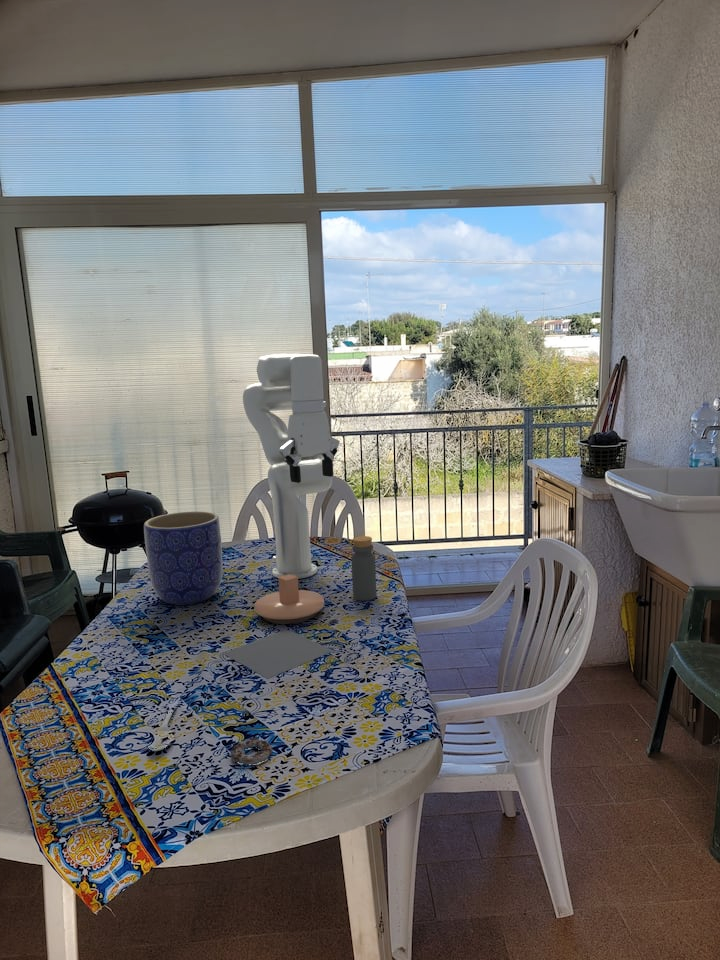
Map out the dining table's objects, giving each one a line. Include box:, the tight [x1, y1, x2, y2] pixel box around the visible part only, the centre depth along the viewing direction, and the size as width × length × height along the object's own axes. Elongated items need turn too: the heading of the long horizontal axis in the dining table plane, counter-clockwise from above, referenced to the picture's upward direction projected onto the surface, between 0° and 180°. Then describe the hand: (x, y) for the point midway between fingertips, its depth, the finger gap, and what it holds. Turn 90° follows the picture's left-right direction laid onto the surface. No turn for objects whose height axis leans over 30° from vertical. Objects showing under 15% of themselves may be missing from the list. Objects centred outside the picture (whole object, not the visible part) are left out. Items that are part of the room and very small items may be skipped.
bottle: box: [350, 535, 378, 602], centre depth 161 cm, size 6×6×15 cm
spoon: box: [149, 712, 173, 752], centre depth 109 cm, size 4×21×2 cm, turn 6°
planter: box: [143, 510, 223, 606], centre depth 166 cm, size 18×18×21 cm
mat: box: [222, 629, 335, 680], centre depth 132 cm, size 16×16×1 cm
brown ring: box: [262, 611, 319, 625], centre depth 152 cm, size 15×15×3 cm
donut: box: [230, 736, 273, 764], centre depth 98 cm, size 8×8×2 cm
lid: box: [254, 574, 325, 619], centre depth 151 cm, size 16×16×7 cm
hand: (312, 479), depth 158 cm, fingers open, 9 cm apart
